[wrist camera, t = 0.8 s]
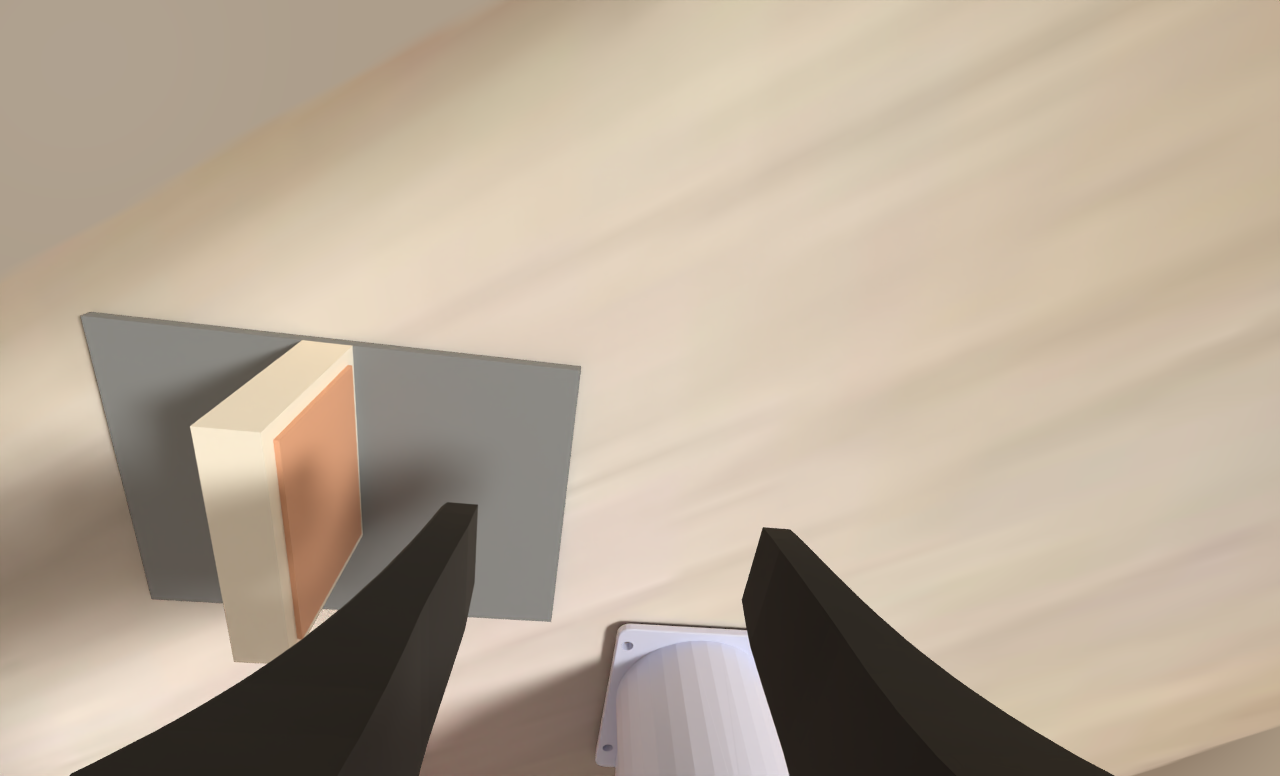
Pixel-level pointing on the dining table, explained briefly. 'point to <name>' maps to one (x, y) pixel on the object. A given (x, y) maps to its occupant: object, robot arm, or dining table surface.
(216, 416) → the block
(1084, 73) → the dining table surface
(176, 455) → the mat
